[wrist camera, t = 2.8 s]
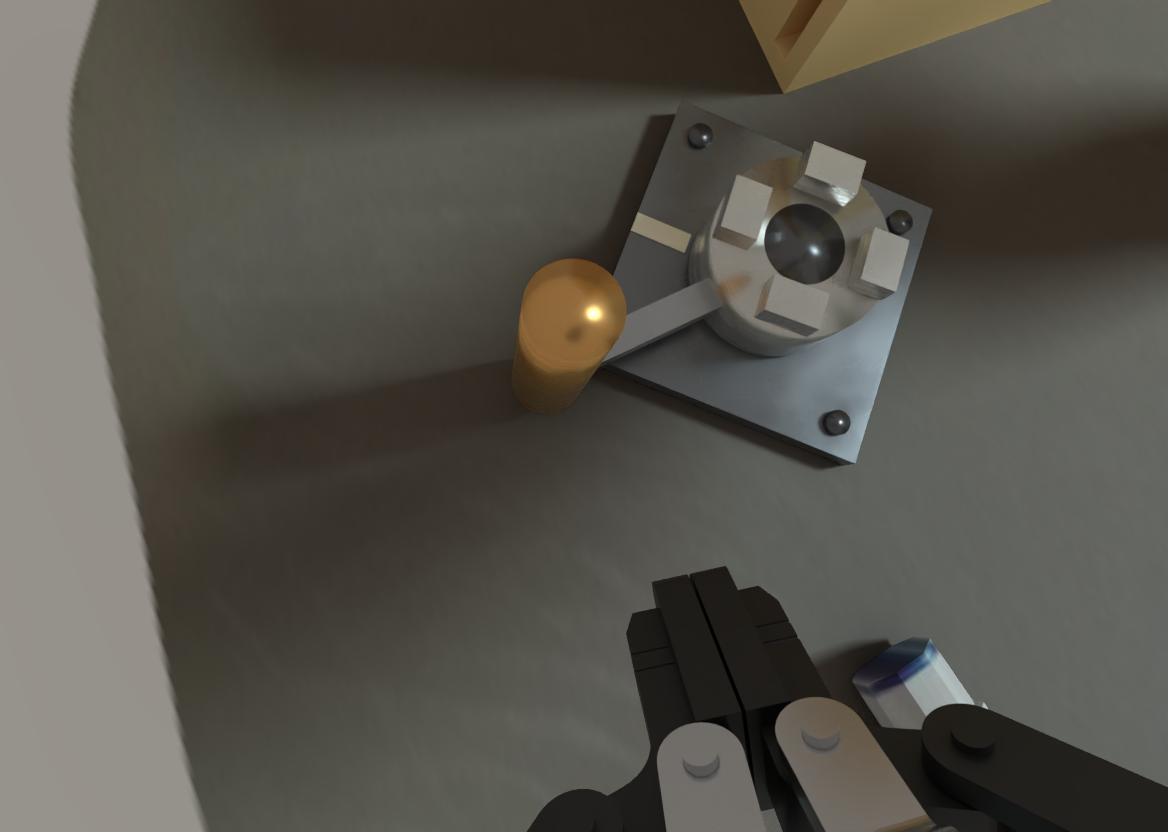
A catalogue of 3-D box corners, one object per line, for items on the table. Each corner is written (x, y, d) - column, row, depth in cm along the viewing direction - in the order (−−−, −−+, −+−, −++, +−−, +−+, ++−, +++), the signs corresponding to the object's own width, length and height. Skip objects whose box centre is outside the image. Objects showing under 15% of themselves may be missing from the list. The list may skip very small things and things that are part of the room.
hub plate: (675, 113, 37) (683, 96, 36) (919, 218, 38) (936, 206, 36) (579, 359, 34) (583, 351, 33) (842, 465, 35) (858, 462, 34)
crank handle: (799, 173, 36) (933, 22, 25) (875, 315, 35) (1046, 224, 24) (476, 315, 33) (468, 213, 22) (554, 474, 32) (586, 450, 21)
